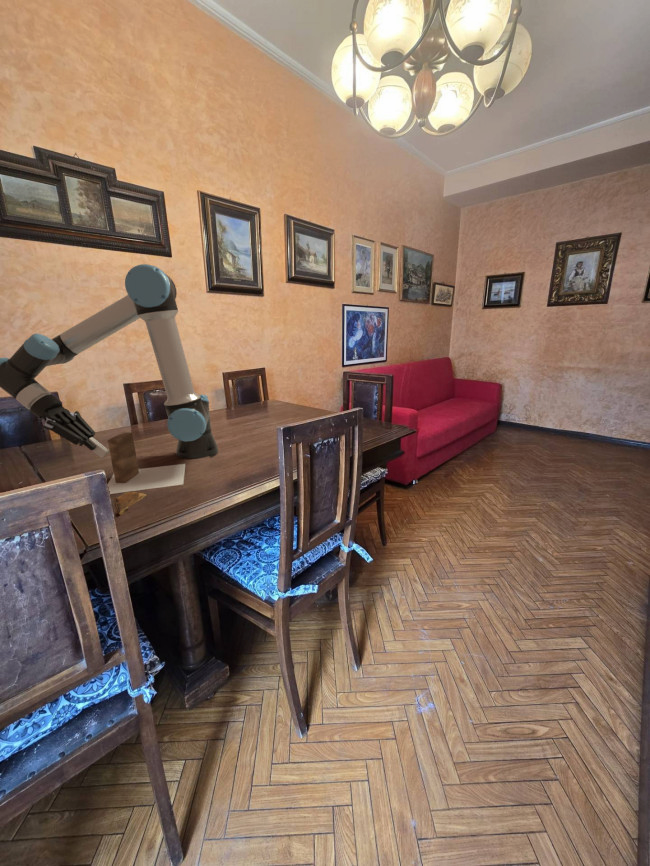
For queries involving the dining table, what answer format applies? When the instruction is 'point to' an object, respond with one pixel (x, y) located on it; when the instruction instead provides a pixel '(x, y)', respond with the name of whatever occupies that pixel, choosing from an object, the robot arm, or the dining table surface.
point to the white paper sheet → (150, 479)
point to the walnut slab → (123, 457)
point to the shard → (127, 501)
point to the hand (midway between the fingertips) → (105, 454)
